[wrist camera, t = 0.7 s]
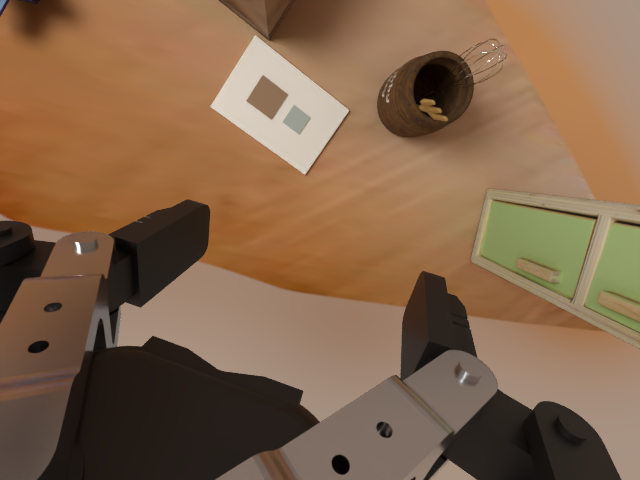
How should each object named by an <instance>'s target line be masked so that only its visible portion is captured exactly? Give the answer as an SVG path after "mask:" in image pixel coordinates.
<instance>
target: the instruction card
mask: <svg viewBox="0 0 640 480" xmlns="http://www.w3.org/2000/svg"><path fill="white" fill-rule="evenodd" d="M211 108H213V109H214V110H216V111H217V112H218V113H220V114H221V115H223V116H224V117H225V118H227V119H228V120H230V121H231V122H232V123H234V124H235V125H236V126H238V127H239V128H241V129H242V130H243V131H245V132H246V133H248V134H249V135H250V136H252V137H253V138H255V139H256V140H257V141H259V142H260V143H262V144H263V145H264V146H266V147H267V148H269V149H270V150H271V151H273V152H274V153H276V154H277V155H278V156H280V157H281V158H282V159H284V160H285V161H287V162H288V163H289V164H291V165H292V166H294V167H295V168H296V169H298V170H299V171H301V172H302V173H303V174H306V173H307V171H308V170H309V168H310V167H311V166H312V164H313V163H314V161H315V160H316V158H317V157H318V155H319V154H320V152H321V151H322V150H323V148H324V147H325V145H326V144H327V142H328V141H329V139H330V138H331V136H332V135H333V133H334V132H335V131H336V129H337V128H338V126H339V125H340V123H341V122H342V120H343V119H344V117H345V116H346V115H347V113H348V112H349V110H348V109H347V108H346V107H344V106H343V105H342V104H341V103H339V102H338V101H337V100H336V99H334V98H333V97H332V96H331V95H329V94H328V93H327V92H326V91H324V90H323V89H322V88H321V87H319V86H318V85H317V84H316V83H314V82H313V81H312V80H311V79H309V78H308V77H307V76H306V75H304V74H303V73H302V72H301V71H299V70H298V69H297V68H296V67H294V66H293V65H292V64H291V63H289V62H288V61H287V60H286V59H284V58H283V57H282V56H281V55H279V54H278V53H277V52H276V51H274V50H273V49H272V48H271V47H269V46H268V45H267V44H266V43H264V42H263V41H262V40H261V39H259V38H258V37H257V36H256V35H255V36H254V38H253V39H252V41H251V43H250V44H249V46H248V47H247V49H246V51H245V52H244V54H243V55H242V57H241V59H240V60H239V62H238V63H237V65H236V67H235V68H234V70H233V71H232V73H231V75H230V76H229V78H228V79H227V81H226V83H225V84H224V86H223V87H222V89H221V91H220V92H219V94H218V95H217V97H216V99H215V100H214V102H213V103H212V105H211Z"/></svg>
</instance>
